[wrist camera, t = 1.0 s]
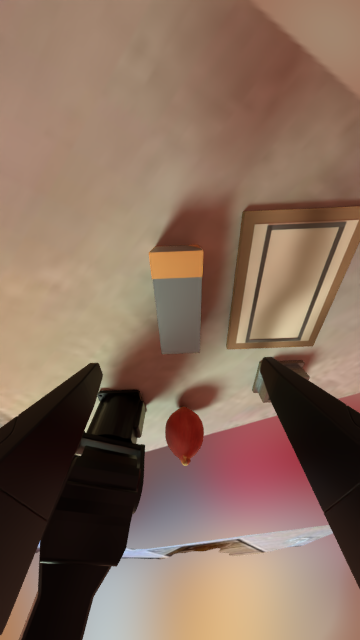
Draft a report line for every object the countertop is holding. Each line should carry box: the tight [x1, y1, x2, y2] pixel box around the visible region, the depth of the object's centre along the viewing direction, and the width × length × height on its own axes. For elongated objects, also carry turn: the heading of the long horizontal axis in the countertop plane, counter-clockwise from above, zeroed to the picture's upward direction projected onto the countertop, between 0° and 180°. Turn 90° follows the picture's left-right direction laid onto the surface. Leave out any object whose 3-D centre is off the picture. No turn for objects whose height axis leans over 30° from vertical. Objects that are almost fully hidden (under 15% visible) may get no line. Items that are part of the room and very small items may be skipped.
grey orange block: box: [149, 245, 203, 354], centre depth 17 cm, size 4×10×4 cm, turn 2°
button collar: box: [252, 360, 310, 403], centre depth 24 cm, size 6×6×2 cm
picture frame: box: [226, 206, 360, 349], centre depth 18 cm, size 11×15×1 cm
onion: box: [165, 406, 204, 466], centre depth 25 cm, size 6×6×8 cm
